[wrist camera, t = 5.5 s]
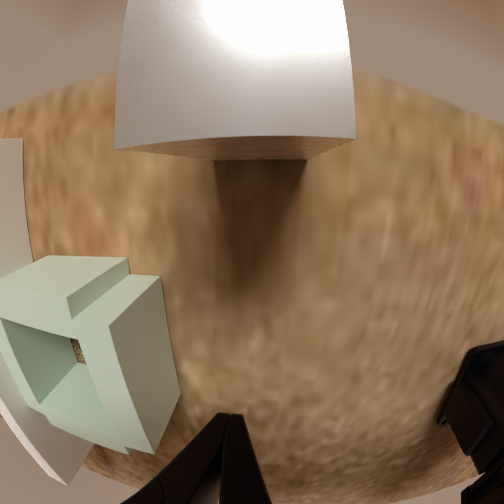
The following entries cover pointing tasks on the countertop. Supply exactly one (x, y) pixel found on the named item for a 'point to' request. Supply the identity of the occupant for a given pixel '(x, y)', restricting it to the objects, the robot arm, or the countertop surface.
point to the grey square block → (234, 79)
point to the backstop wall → (3, 385)
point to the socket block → (91, 349)
